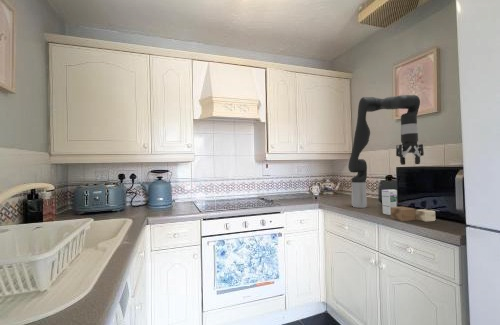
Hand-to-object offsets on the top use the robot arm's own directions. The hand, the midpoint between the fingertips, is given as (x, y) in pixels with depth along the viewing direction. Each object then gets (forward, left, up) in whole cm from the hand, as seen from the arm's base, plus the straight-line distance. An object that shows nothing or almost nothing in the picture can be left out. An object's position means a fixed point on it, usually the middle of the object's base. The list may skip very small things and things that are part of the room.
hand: (410, 164), depth 128 cm
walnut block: (-5, -1, -30) cm, 30 cm away
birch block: (0, +8, -29) cm, 30 cm away
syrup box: (-18, +2, -30) cm, 35 cm away
